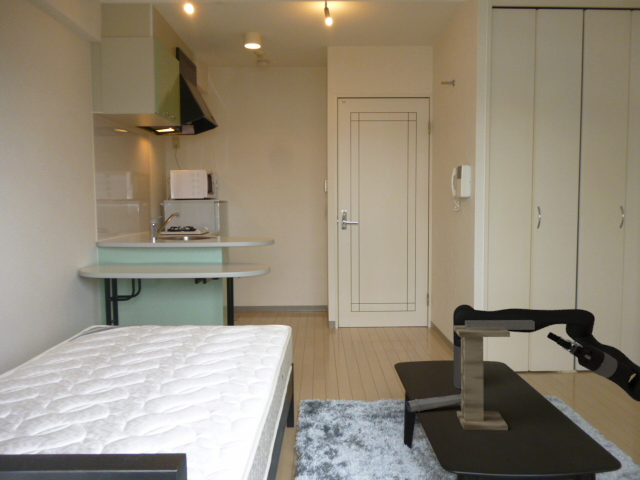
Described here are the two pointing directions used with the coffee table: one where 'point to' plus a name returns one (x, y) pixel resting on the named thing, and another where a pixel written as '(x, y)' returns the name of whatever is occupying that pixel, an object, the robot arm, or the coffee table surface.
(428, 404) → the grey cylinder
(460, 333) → the birch stand
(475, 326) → the grey long bar
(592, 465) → the coffee table surface
